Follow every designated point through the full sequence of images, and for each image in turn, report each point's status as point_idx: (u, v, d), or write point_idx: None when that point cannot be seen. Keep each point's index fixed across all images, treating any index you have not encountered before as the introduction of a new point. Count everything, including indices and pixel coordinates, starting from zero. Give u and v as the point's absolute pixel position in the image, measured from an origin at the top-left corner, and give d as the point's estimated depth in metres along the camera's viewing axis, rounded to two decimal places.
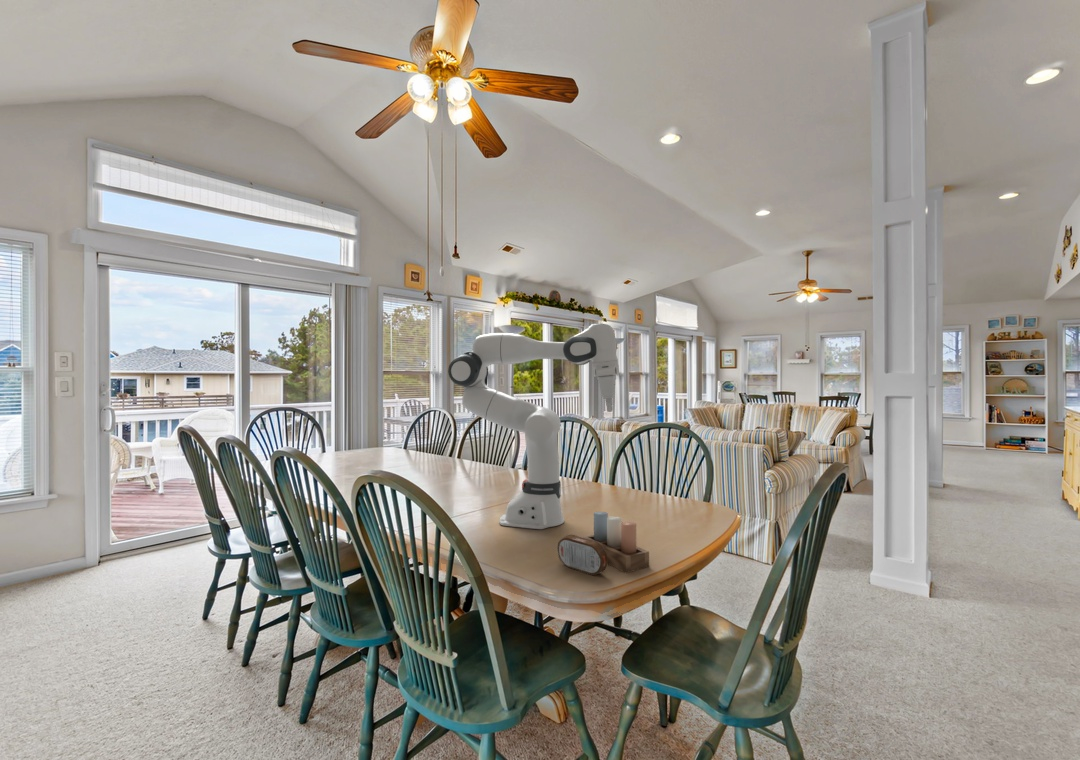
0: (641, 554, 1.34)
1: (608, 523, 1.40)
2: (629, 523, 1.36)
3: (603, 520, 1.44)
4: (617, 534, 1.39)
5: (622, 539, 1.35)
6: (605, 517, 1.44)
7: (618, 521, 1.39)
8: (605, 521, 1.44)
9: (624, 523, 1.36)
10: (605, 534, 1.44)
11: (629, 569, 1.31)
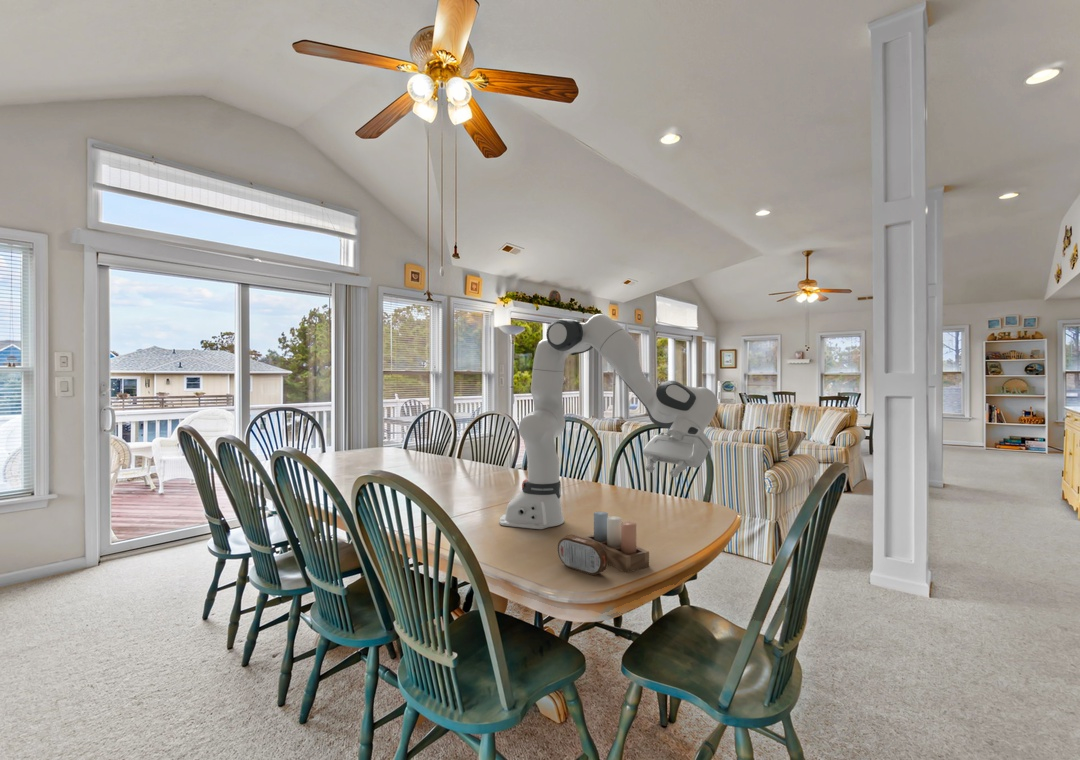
0: (641, 554, 1.34)
1: (608, 523, 1.40)
2: (629, 523, 1.36)
3: (603, 520, 1.44)
4: (617, 534, 1.39)
5: (622, 539, 1.35)
6: (605, 517, 1.44)
7: (618, 521, 1.39)
8: (605, 521, 1.44)
9: (624, 523, 1.36)
10: (605, 534, 1.44)
11: (629, 569, 1.31)
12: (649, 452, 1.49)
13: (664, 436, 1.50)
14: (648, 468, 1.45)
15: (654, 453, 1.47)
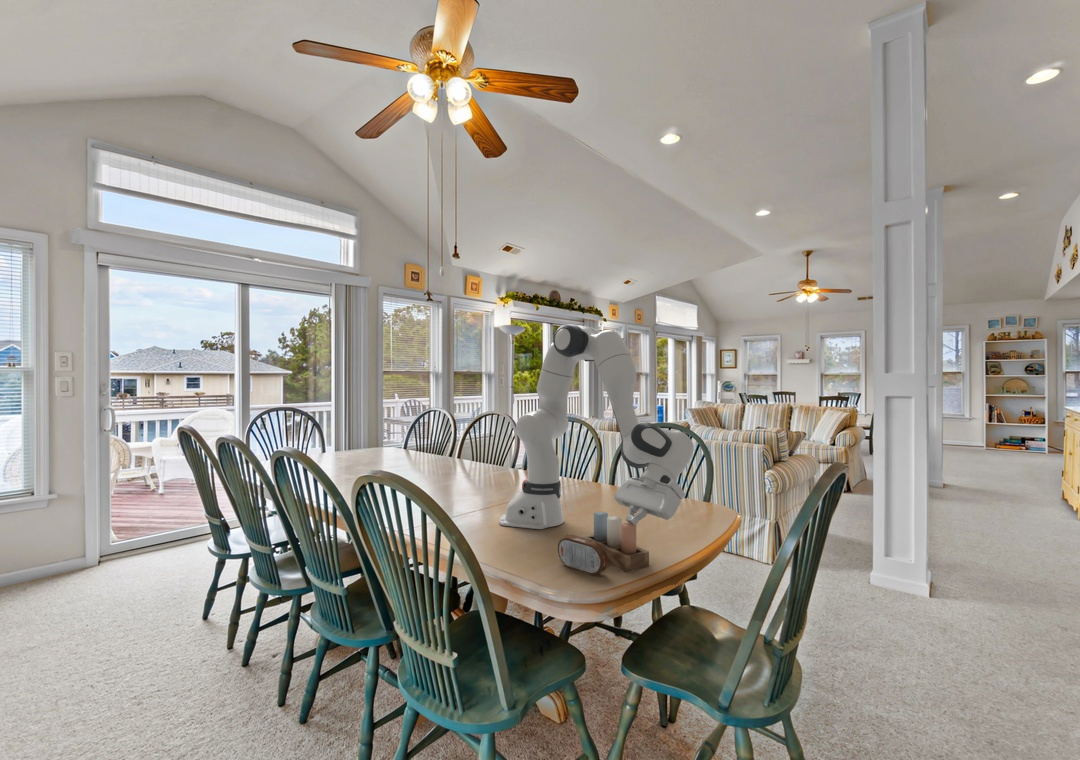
0: (641, 554, 1.34)
1: (608, 523, 1.40)
2: (629, 524, 1.36)
3: (603, 520, 1.44)
4: (617, 534, 1.39)
5: (622, 540, 1.35)
6: (605, 517, 1.44)
7: (618, 521, 1.39)
8: (605, 521, 1.44)
9: (624, 524, 1.36)
10: (605, 534, 1.44)
11: (629, 569, 1.31)
12: (620, 498, 1.43)
13: (637, 481, 1.43)
14: (628, 519, 1.36)
15: (625, 500, 1.41)
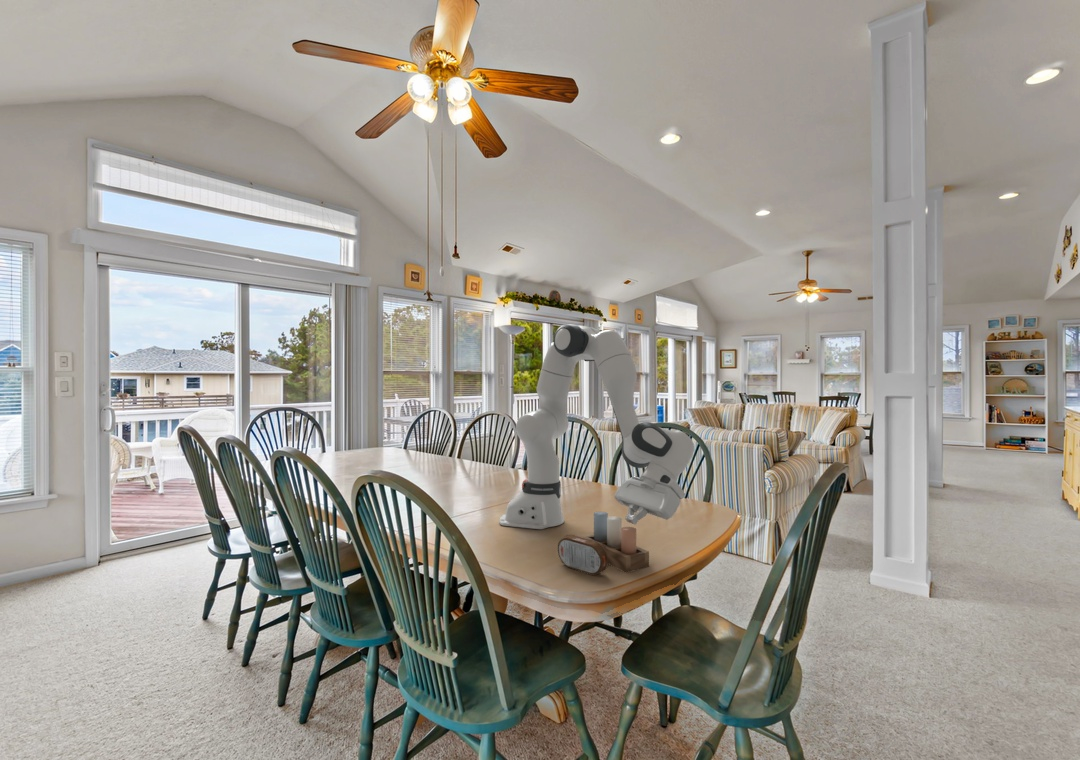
0: (641, 554, 1.34)
1: (608, 523, 1.40)
2: (629, 528, 1.36)
3: (603, 520, 1.44)
4: (617, 534, 1.39)
5: (622, 544, 1.35)
6: (605, 517, 1.44)
7: (618, 521, 1.39)
8: (605, 521, 1.44)
9: (624, 528, 1.36)
10: (605, 534, 1.44)
11: (629, 569, 1.31)
12: (620, 497, 1.43)
13: (637, 481, 1.44)
14: (628, 518, 1.36)
15: (625, 499, 1.41)
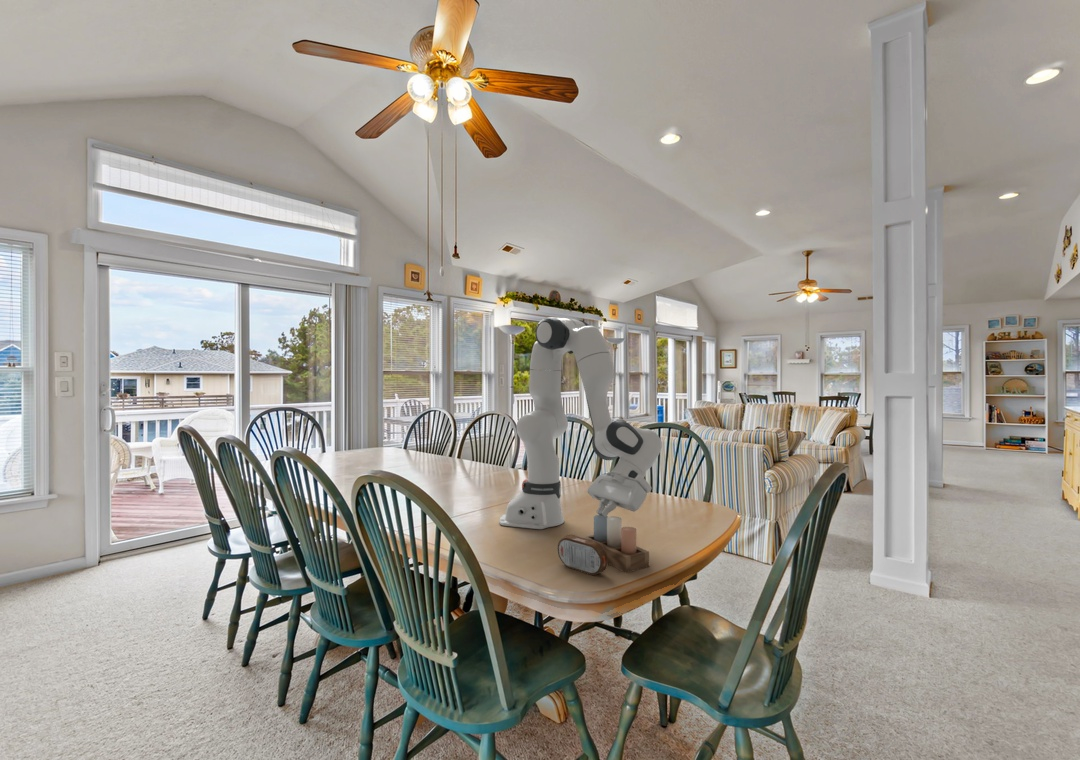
0: (641, 554, 1.34)
1: (608, 523, 1.40)
2: (629, 528, 1.36)
3: (603, 523, 1.44)
4: (617, 534, 1.39)
5: (622, 544, 1.35)
6: (605, 520, 1.44)
7: (618, 521, 1.39)
8: (605, 524, 1.44)
9: (624, 528, 1.36)
10: (605, 537, 1.44)
11: (629, 569, 1.31)
12: (593, 492, 1.53)
13: (608, 476, 1.53)
14: (599, 511, 1.46)
15: (597, 493, 1.51)
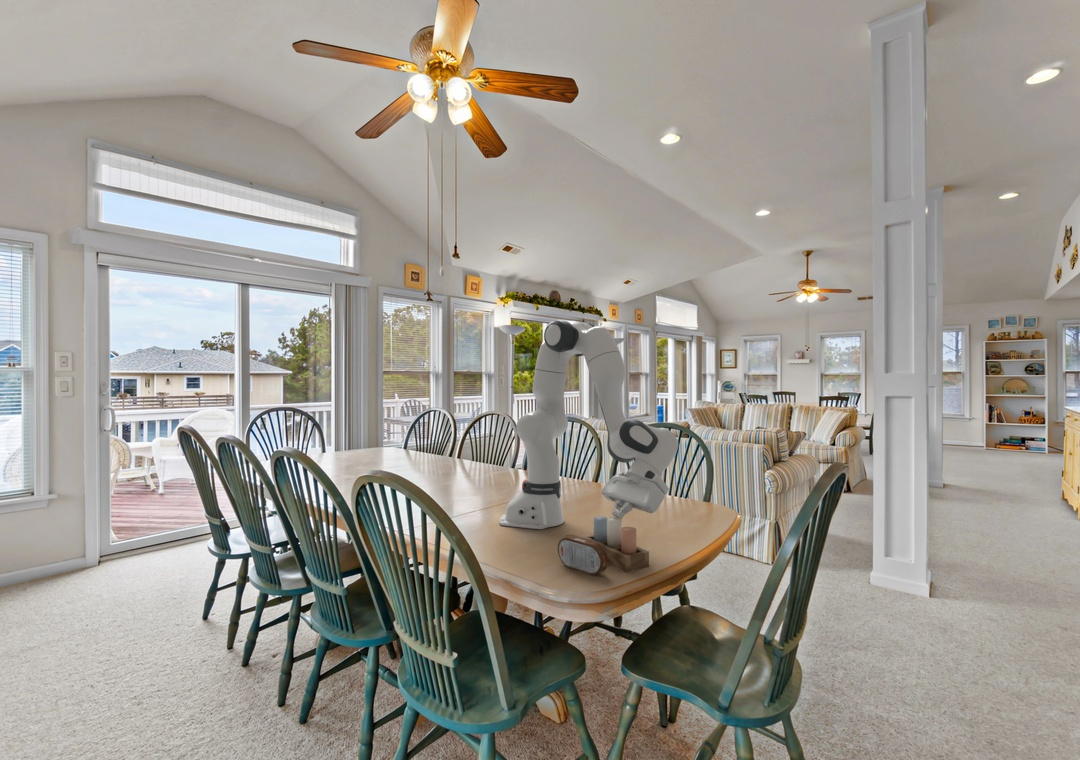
0: (641, 554, 1.34)
1: (608, 524, 1.40)
2: (629, 528, 1.36)
3: (603, 525, 1.44)
4: (617, 535, 1.39)
5: (622, 544, 1.35)
6: (605, 522, 1.44)
7: (618, 521, 1.39)
8: (605, 526, 1.44)
9: (624, 528, 1.36)
10: (605, 539, 1.44)
11: (629, 569, 1.31)
12: (607, 493, 1.48)
13: (623, 477, 1.49)
14: (614, 513, 1.41)
15: (612, 494, 1.46)
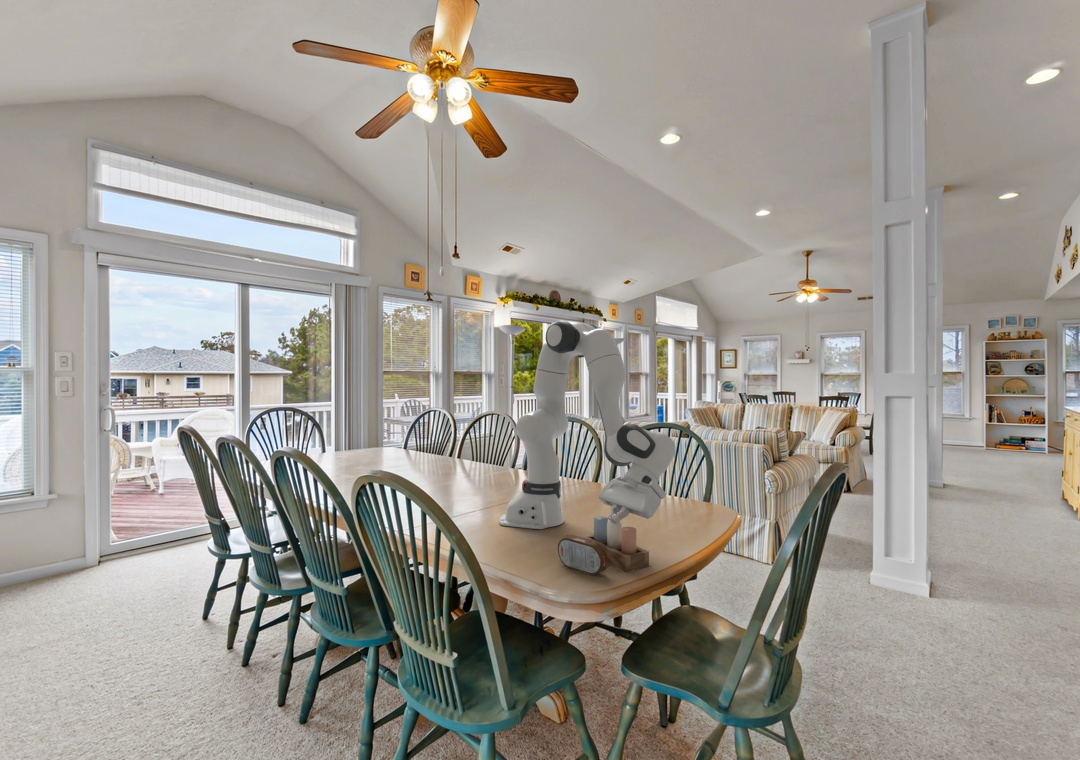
0: (641, 554, 1.34)
1: (608, 528, 1.40)
2: (629, 528, 1.36)
3: (603, 525, 1.44)
4: (617, 540, 1.39)
5: (622, 544, 1.35)
6: (605, 522, 1.44)
7: (618, 526, 1.39)
8: (605, 526, 1.44)
9: (624, 528, 1.36)
10: (605, 539, 1.44)
11: (629, 569, 1.31)
12: (604, 497, 1.47)
13: (620, 481, 1.48)
14: (611, 518, 1.41)
15: (609, 499, 1.46)
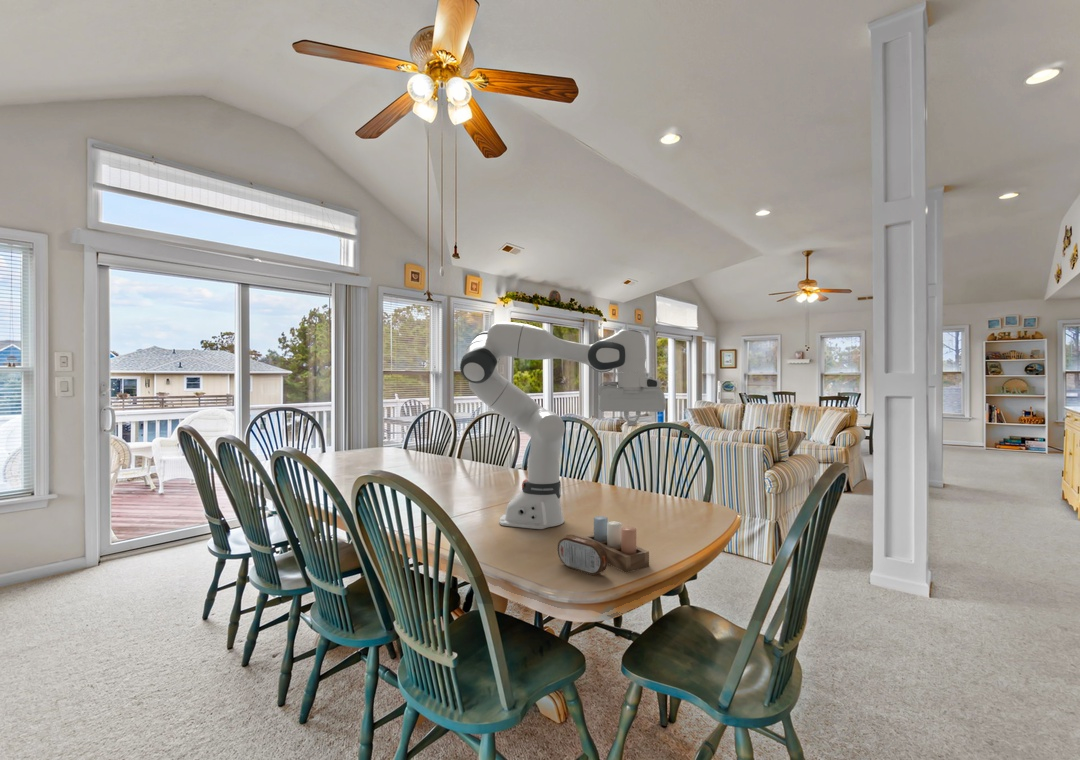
0: (641, 554, 1.34)
1: (608, 528, 1.40)
2: (629, 528, 1.36)
3: (603, 525, 1.44)
4: (617, 540, 1.39)
5: (622, 544, 1.35)
6: (605, 522, 1.44)
7: (618, 526, 1.39)
8: (605, 526, 1.44)
9: (624, 528, 1.36)
10: (605, 539, 1.44)
11: (629, 569, 1.31)
12: (610, 410, 1.56)
13: (616, 389, 1.56)
14: (631, 425, 1.56)
15: (617, 410, 1.56)
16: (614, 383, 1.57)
